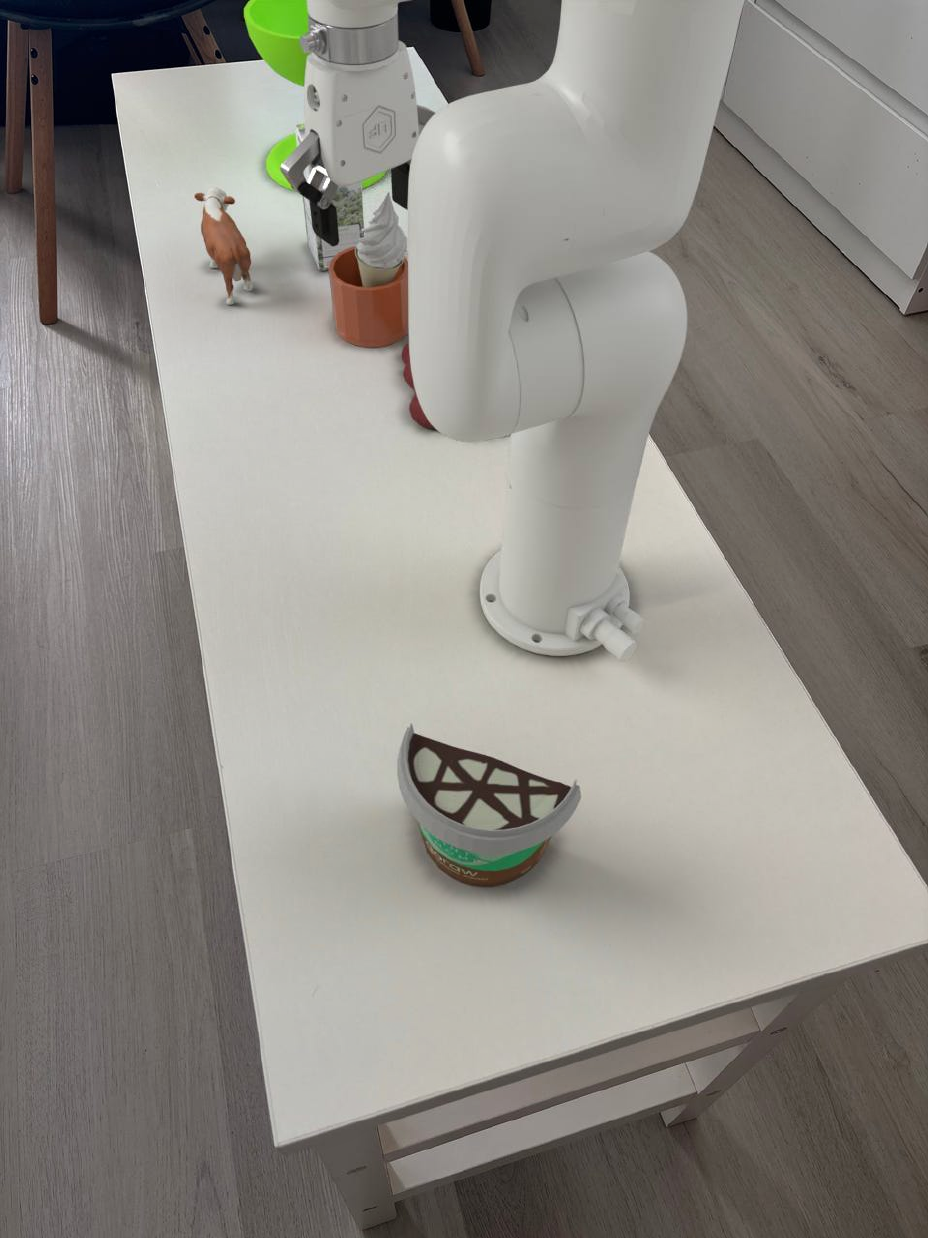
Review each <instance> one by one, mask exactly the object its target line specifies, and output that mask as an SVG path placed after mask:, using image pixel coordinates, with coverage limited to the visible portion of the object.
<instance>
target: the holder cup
mask: <svg viewBox="0 0 928 1238" xmlns="http://www.w3.org/2000/svg"><path fill="white" fill-rule="evenodd" d="M355 248H356V246H354V247H350V248H348V249H345V250H343V251H341V252H339V253H338V254H337V255H336V256H335V257H334V258H333V259H332V260H331V261H330V265H329V270H328V277H329V278H328V279H329V288H330V289H329V290H330V297H331V308H332V309H331V310H332V318H333V322H334V329H335V331H336V334H337V335H338V336H339V337H340V338H341V339H342V340H343V341H345V342H347V343H349V344H351V345H354V346H356V347H361V348H382V347H387V346H390V345H393V344H395V343H397V342H399V341H401V340H403V338H405V337H406V336H407V334H409V323H408V258H407V257H406V255H404V262H403V263H402V265H401V266H400V267H399V269H398V271H397V273H396V275H395V277H394V279H393V281H392V282H391V283H389V284H387V285H383V286H377V287H363V284H362V279H361V275H360V270H359V264H358V260H357V257H356V255H355Z"/></svg>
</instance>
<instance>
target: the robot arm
mask: <svg viewBox="0 0 928 1238" xmlns="http://www.w3.org/2000/svg"><path fill="white" fill-rule="evenodd" d="M410 1H411V0H307V9H308V29H309V31H308V32H307V33H306V34H305V35H302V36H300V39H299V41H300V46H301V49H302V50H303V52H304V53H310V52H312V54H310V55H308V56H307V60H306V70H305V84H304V88H303V90H304V91H303V92H304V93H303V104H304V105H303V107H304V108H303V114H304V115H303V116H304V124H305V136H306V138H305V139H304V140H303V141H302V142H301V143H300V144H299V146H298V147H297V148H296V149H295V150H294V151H293V152H292V153H291V154H290V155H289V156H288V158H287V159H286V160H285V161H284V162H283V163H282V164H281V167H280V170H281V172H282V174H283V175H284V176H285V178H286V179H287V181H288V182H289V183H290V184H291V187H292V189H293V190H295V191H294V192H296V193H298V194H299V195H301V196H302V197H303V196H304V197H305V198H307V199H308V200H309V202H310V211H311V220H312V228H313V231H314V233H315V234H316V235H317V236H318V237H320V238H321V239H322V240H324V241H325V242H327V243H328V244H329V245H331V246H332V247H334V246H336V245H338V243H339V232H338V221H337V210H336V207H335V206H334V205H333V204H331V201H332V199H333V197H334V195H335V193H336V191H337V188H338V186H350V185H353V184H356V183H358V182H361V181H363V180H366V179H368V178H371V177H373V176H376V175H378V174H380V173H383V172H385V171H387V172H388V171H390V176H391V177H390V181H391V200H392V201H393V203H395V204H397V205H398V206H401V207H402V208H403V209H405V210H407V261H408V323H409V331H408V342H409V353H410V364H411V372H412V377H413V382H414V387H415V391H416V395H417V398H418V400H419V403H420V406H421V408H422V410H423V412H424V414H425V415H426V417H427V419H428V420H429V422H430V423H431V424H432V425H433V426H434V427H435V428H436V429H435V430H436V431H438V433H440V434H442V435H443V436H445V437H446V438H448V439H451V440H453V441H456V442H460V443H480V442H486V441H489V440H494V439H498V438H501V437H505V436H509V435H510V436H509V444H508V454H507V468H506V481H505V482H506V483H505V497H504V508H503V522H502V523H503V524H502V537H501V548H500V550H497V552H496V553H495V554H494V555H493V556H492V557H491V558H490V559H489V561H488V562H487V564H486V565H485V567H484V569H483V571H482V575H481V578H480V584H479V599H480V600H479V601H480V606H481V608H482V612H483V614H484V617H485V618H486V619H487V622H488V623H489V625H490V626H491V627H492V628H493V629H494V630H495V632H497V633H498V635H500V636H501V638H502V637H503V638H504V639H505V640H506V641H508V642H509V643H511V644H513V645H515V646H516V647H518V648H521V649H522V650H525V651H528V652H532V653H535V654H537V655H538V654H539V655H546V656H552V657H564V656H566V657H567V656H574V655H579V654H583V653H586V652H589V651H592V650H595V649H597V648H599V647H600V646H603V647H604V648H605V649H606V651H608V652H609V653H610V654H612V655H613V656H614V657H615V658H616V659H617V660H619V661H620V662H621V663H623V662H626V661H627V660H629V658H630V657H631V656H633V654H634V653H635V651H636V650H637V649H638V642H637V641H635V640H634V639H633V637H630V636H629V635H628V634H627V633H626V632H625V631H624V630H622V629H621V627H622V626H624V627H626V628H627V629H628V630H629V631H631V632H632V633H633V634H636V633H639V631H641V630H642V628H643V627H644V626H645V623H646V619H645V618H644V617H642V616H641V615H640V614H638V613H637V612H636V611H635V610H632V609H631V608H629V606H630V596H631V594H630V593H631V592H630V588H629V583H628V580H627V578H626V575H625V573H624V571H623V570H622V568H621V567H620V561H621V557H622V551H623V548H624V542H625V537H626V533H627V528H628V524H629V519H630V515H631V511H632V505H633V502H634V496H635V491H636V486H637V482H638V478H639V477H640V476H639V475H640V471H641V466H642V462H643V458H644V454H645V450H646V446H647V442H648V438H649V434H650V431H651V428H652V426H653V425H652V424H653V422H654V419H655V417H656V415H657V412H658V410H659V408H660V406H661V404H662V401H663V399H664V397H665V395H666V393H667V391H668V389H669V387H670V385H671V383H672V381H673V379H674V376H675V374H676V372H677V370H678V367H679V364H680V361H681V359H682V355H683V352H684V349H685V344H686V339H687V331H688V309H687V308H688V307H687V302H686V297H685V293H684V290H683V288H682V285H681V282H680V280H679V278H678V276H677V275H676V273H675V272H674V271H673V269H672V268H671V266H670V265H669V264H668V263H666V262H665V261H664V260H663V259H662V258H661V257H659V255H657V254H655V253H653V252H651V251H652V250H655V249H657V248H659V247H660V246H663V245H664V244H666V243H667V242H669V241H670V240H671V239H672V238H673V237H674V236H676V235H677V233H678V232H679V231H680V230H681V228H682V227H683V226H684V224H685V222H686V220H687V218H688V216H689V214H690V211H691V210H692V206H693V203H694V200H695V197H696V193H697V192H698V187H699V183H700V180H701V176H702V173H703V169H704V165H705V160H706V158H707V157H706V156H707V153H708V149H709V144H710V142H711V137H712V133H713V129H714V125H715V121H716V118H717V114H718V109H719V105H720V103H721V98H722V93H723V91H724V90H723V89H724V86H725V81H726V78H727V74H728V70H729V66H730V64H731V59H732V54H733V51H734V46H735V43H736V37H737V32H738V29H739V23H740V19H741V15H742V11H743V9H744V4H745V1H746V0H561V6H560V18H559V26H558V28H559V29H558V34H557V42H556V47H555V53H554V56H553V60H552V62H551V65H550V66H549V68H548V70H546V72H545V73H544V74H542V76H540V77H539V78H538V79H536V80H534V81H531V82H527V83H523V84H518V85H513V86H508V87H503V88H502V87H501V88H498V89H493V90H488V91H483V92H480V93H474V94H471V95H467V96H464V97H462V98H459V99H457V100H454V101H452V102H449V103H448V104H446V105H445V106H443V107H442V108H440V109H439V110H438V111H436V112H435V111H433V110H431V109H430V108H429V107H426V106H424V105H423V106H422V105H419V104H418V102H417V94H416V87H415V80H414V74H413V68H412V65H411V60H410V57H409V52H408V48H407V45H406V43H405V42H403V41H401V40H399V39H400V38H399V37H400V36H399V11H398V10H399V6H398V5H399V4H400V3H403V2H410ZM309 164H310V166H311V168H313V169H312V171H311V173H310V176H309V178H308V180H306V178H305V177H304V170H305V168H306V167H307V166H308V165H309ZM324 176H326V177H327V179H326V181H325V183H324V185H323V188H322V190H321V192H320V191H319V190H318V189H319V187H320V185H321V183H322V181H323V178H324ZM293 190H292V191H293Z"/></svg>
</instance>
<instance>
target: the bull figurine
mask: <svg viewBox="0 0 928 1238" xmlns="http://www.w3.org/2000/svg"><path fill="white" fill-rule="evenodd" d="M194 199H195V200H196V201H198V202H204V205H203V208H202V219H201V224H200V230H201V231H200V232H201V235H202V239H203V242H204V246H205V251H206V253H207V255H208V256H209V259H210V263H209V268H210V269H219V271H220V272H221V274H222V277H223V281H224V284H225V289H226V292H227V299H226V301H225V304H226V305H227V306H232V305H234V304H235V297H234V294H233V293H234V283H233V281H234V282H239V281H241V279H242V280H243V283H244V284H243V290H244V291H246V292H253V281H252V277H251V275H250V273H249V270H250V267H251V265H252V258H251V251H250V249H249V248H248V246H247V241H246V239H245V238H244V236H243V235H242V232H241V231H240V229H239V228H238V227H237V224H236V222H235V221H234V219H233V218H232V217H231V215H230V214H229V213H228V212H227V210H228V207H229V206H230V205H231V206H232V205H234V204H236V200H235V198H233V196H230V195H229V196H227V193H226V191H225V190H223V189H222V188H219V187H216V186H215V187H214V186H212V187H209V189H207V193H204V192H196V193H195V194H194Z"/></svg>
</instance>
